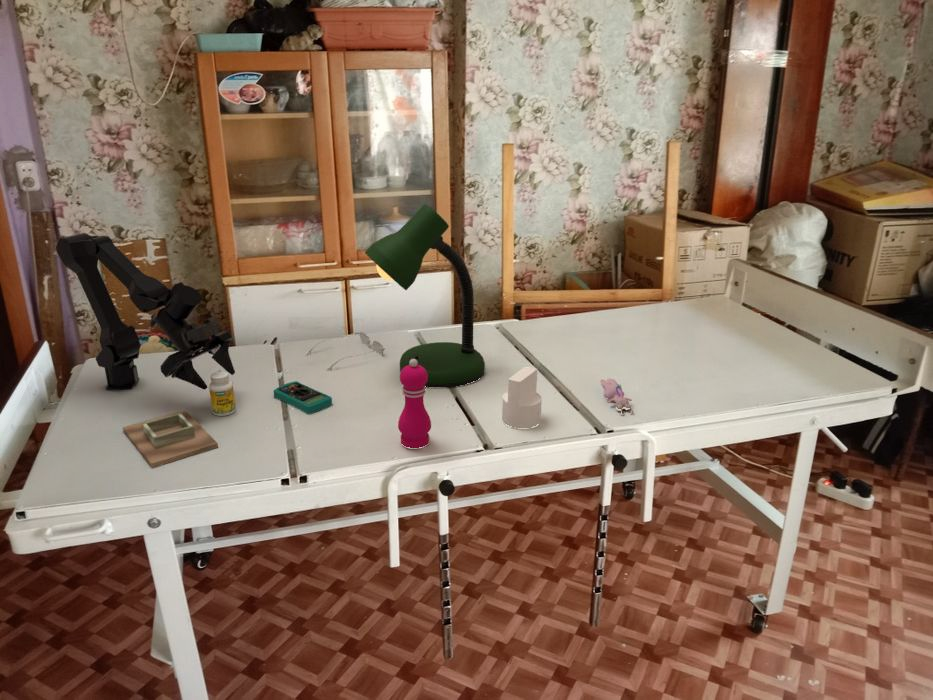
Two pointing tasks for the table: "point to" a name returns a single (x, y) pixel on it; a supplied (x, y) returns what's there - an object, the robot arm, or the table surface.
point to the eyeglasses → (364, 339)
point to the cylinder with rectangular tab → (522, 400)
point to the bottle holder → (169, 438)
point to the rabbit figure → (615, 394)
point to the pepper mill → (414, 407)
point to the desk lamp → (402, 264)
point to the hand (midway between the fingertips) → (220, 381)
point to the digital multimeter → (302, 397)
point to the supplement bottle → (222, 394)
